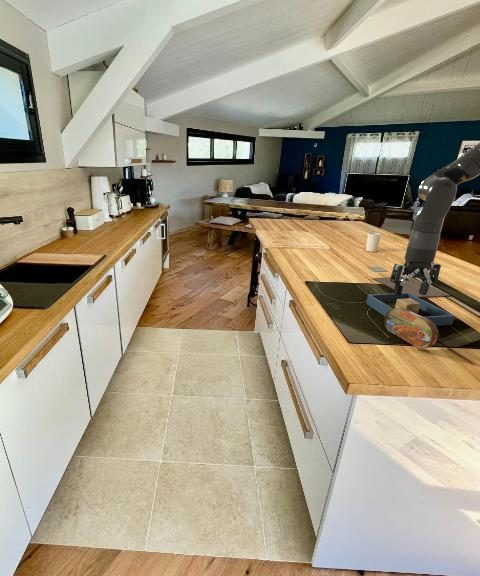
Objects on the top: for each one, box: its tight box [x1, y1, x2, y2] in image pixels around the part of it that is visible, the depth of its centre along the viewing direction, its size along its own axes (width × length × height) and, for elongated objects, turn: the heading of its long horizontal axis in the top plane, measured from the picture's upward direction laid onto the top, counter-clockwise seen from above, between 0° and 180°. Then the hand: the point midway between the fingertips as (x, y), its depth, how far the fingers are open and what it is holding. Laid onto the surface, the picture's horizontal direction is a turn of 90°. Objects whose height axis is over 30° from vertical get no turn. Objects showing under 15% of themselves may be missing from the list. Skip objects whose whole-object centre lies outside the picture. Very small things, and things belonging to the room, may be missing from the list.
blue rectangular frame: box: [365, 292, 455, 327], centre depth 103 cm, size 15×19×4 cm
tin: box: [384, 307, 439, 350], centre depth 88 cm, size 15×3×8 cm, turn 13°
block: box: [394, 298, 420, 315], centre depth 103 cm, size 5×5×5 cm
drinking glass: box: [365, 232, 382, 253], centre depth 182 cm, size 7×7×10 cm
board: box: [372, 276, 452, 299], centre depth 125 cm, size 16×22×2 cm
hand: (409, 294), depth 101 cm, fingers open, 8 cm apart
